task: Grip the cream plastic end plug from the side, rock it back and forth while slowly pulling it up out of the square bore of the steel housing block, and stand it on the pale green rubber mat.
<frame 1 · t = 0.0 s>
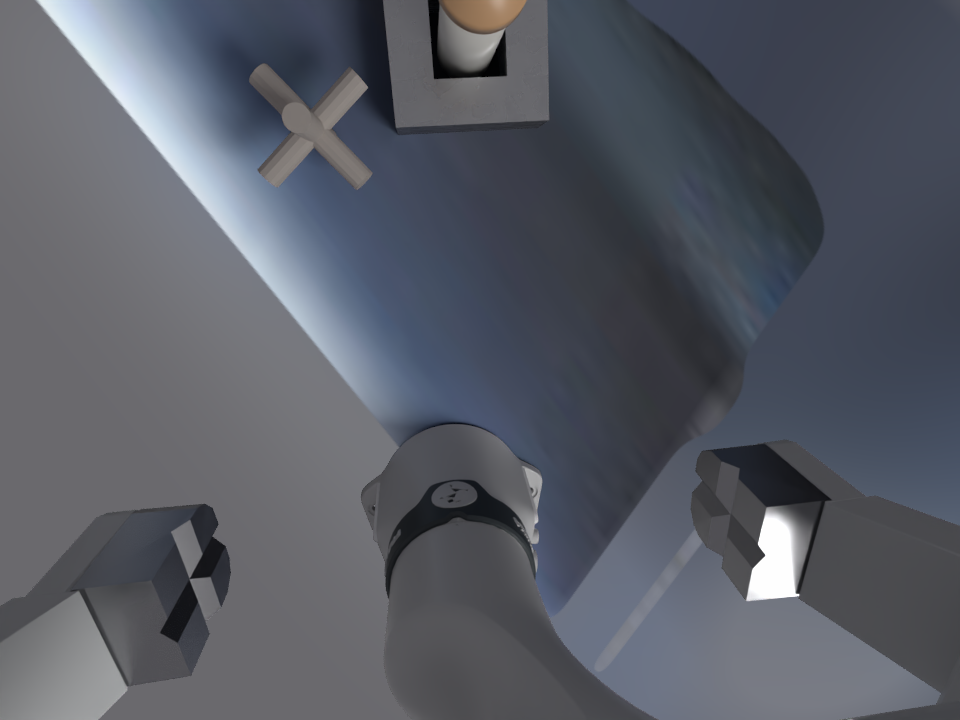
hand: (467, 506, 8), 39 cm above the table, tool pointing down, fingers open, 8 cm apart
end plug: (472, 18, 33), in the housing block
pipe connector: (326, 138, 42), on the table
housing block: (464, 51, 41), on the table
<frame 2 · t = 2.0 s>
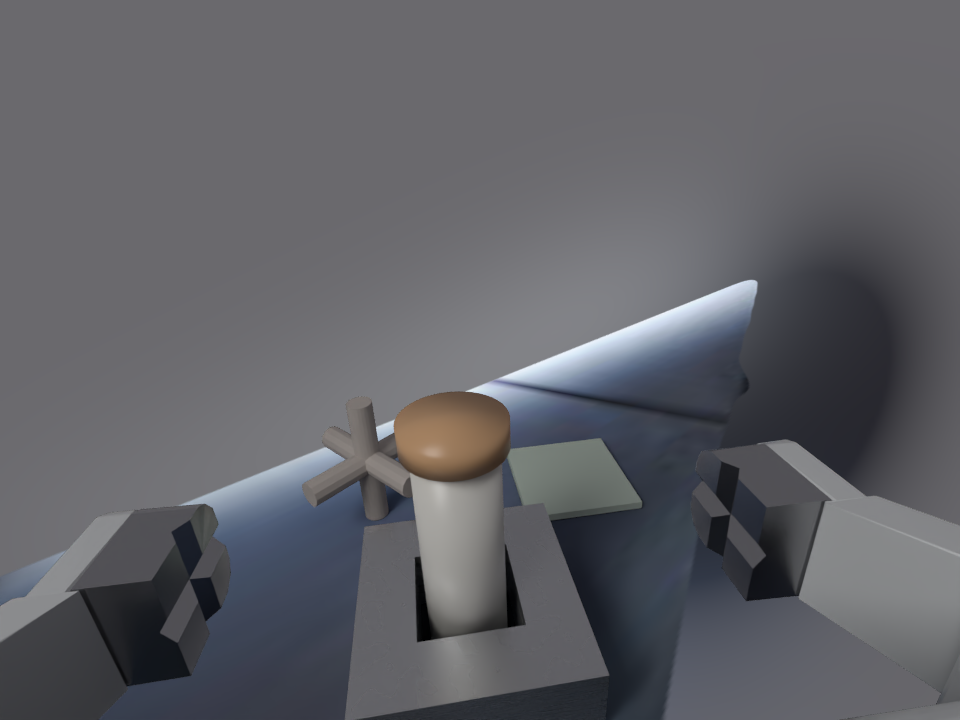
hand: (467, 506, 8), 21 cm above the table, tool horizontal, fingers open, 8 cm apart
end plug: (461, 540, 26), in the housing block
pipe connector: (377, 514, 40), on the table
rubber mat: (568, 479, 42), on the table
housing block: (469, 636, 29), on the table
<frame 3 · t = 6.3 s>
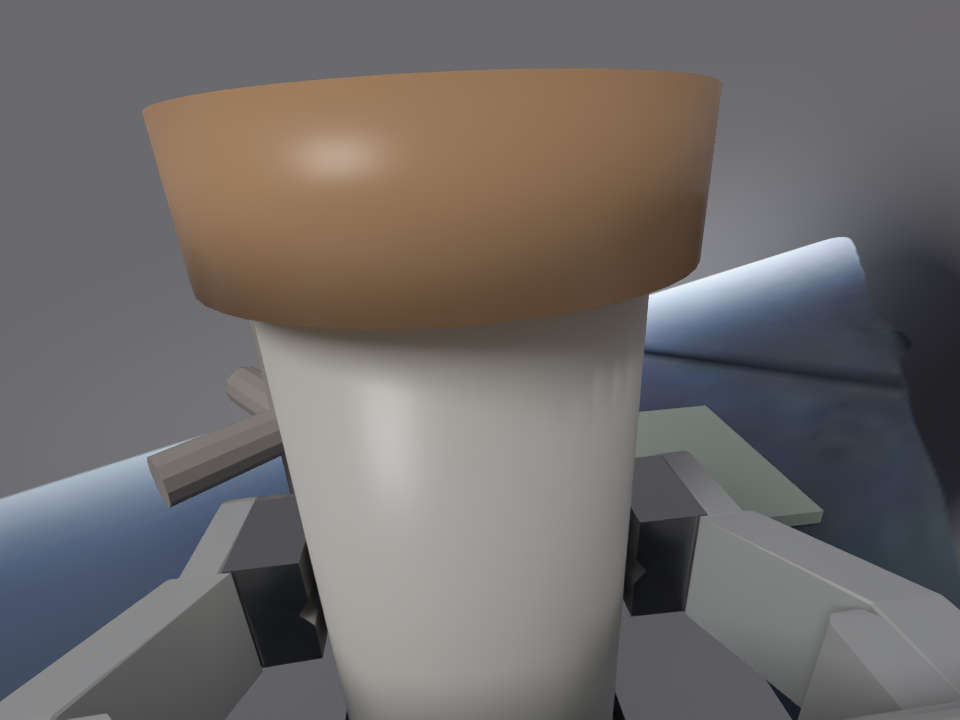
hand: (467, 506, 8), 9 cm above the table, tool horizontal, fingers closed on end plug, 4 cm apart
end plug: (477, 617, 8), in the housing block, touching gripper
pipe connector: (321, 525, 22), on the table
rubber mat: (663, 469, 24), on the table
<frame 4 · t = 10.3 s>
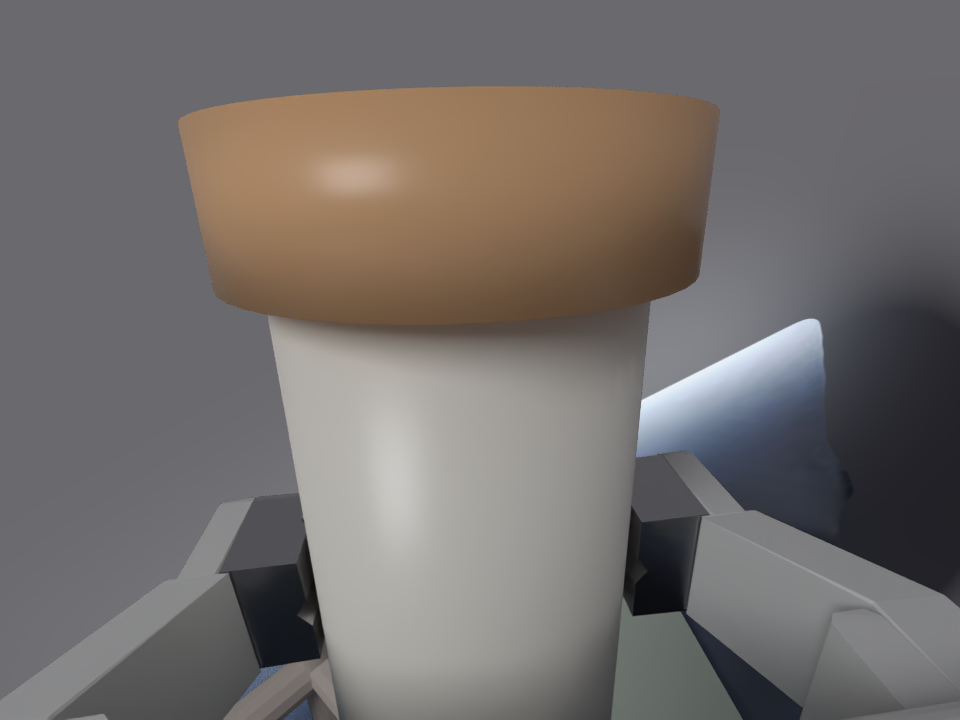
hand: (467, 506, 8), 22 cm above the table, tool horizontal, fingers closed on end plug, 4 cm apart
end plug: (474, 632, 8), point 20 cm above the table, touching gripper
rubber mat: (623, 663, 28), on the table
when the fingers open (11 cm above the table, at t = 14.4 s): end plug drops 1 cm, resting on rubber mat.
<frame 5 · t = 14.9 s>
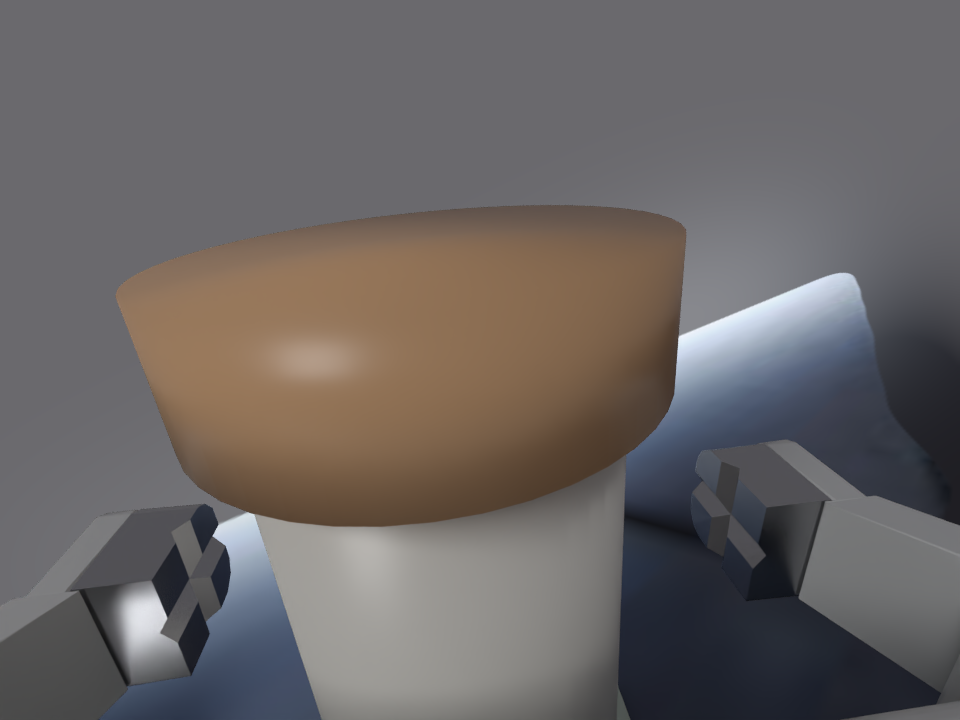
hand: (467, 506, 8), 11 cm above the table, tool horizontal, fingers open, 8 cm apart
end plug: (475, 696, 8), on the rubber mat, point 8 cm above the table
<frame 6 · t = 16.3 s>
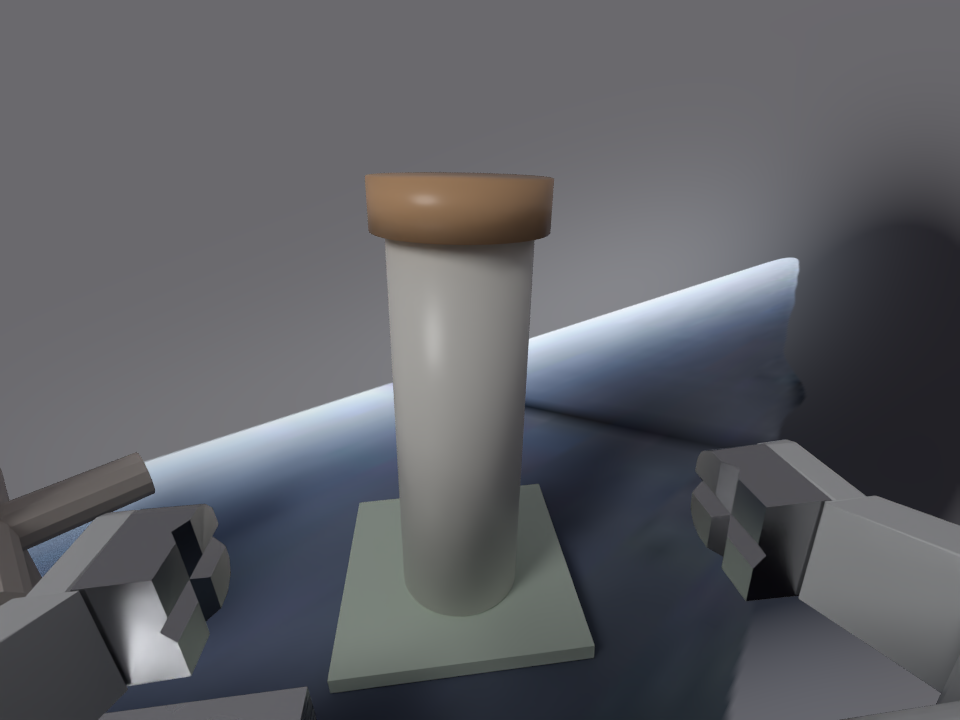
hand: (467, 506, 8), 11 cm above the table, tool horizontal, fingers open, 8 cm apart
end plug: (460, 405, 17), on the rubber mat, point 8 cm above the table
pipe connector: (40, 646, 19), on the table
rubber mat: (456, 572, 21), on the table
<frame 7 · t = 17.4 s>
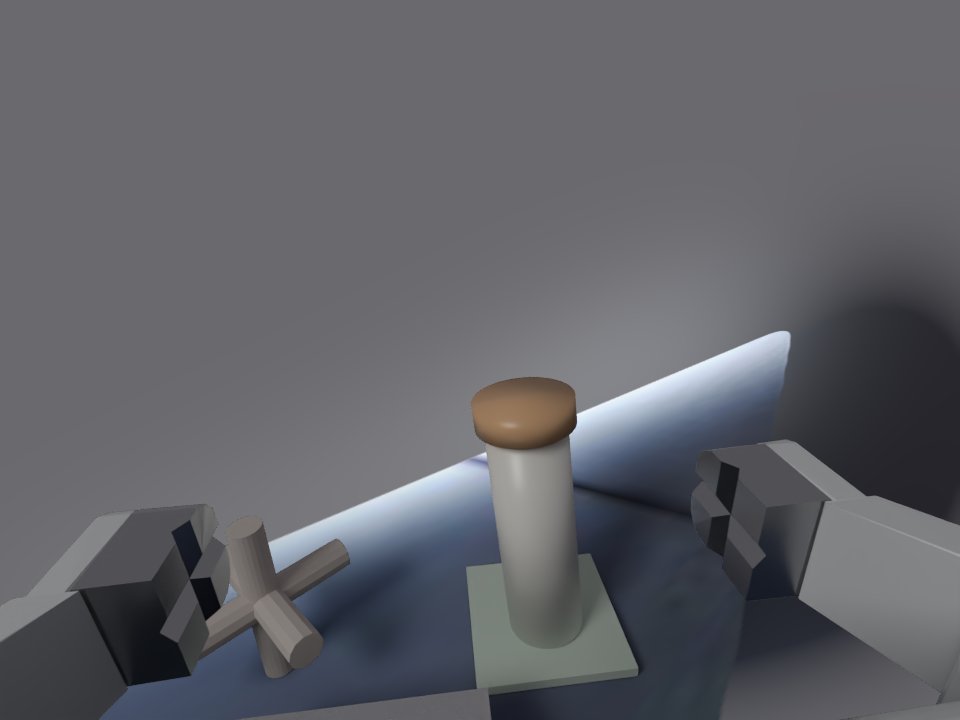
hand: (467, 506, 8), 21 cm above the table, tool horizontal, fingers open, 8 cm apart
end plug: (535, 516, 28), on the rubber mat, point 8 cm above the table
pipe connector: (281, 666, 30), on the table
rubber mat: (541, 618, 32), on the table
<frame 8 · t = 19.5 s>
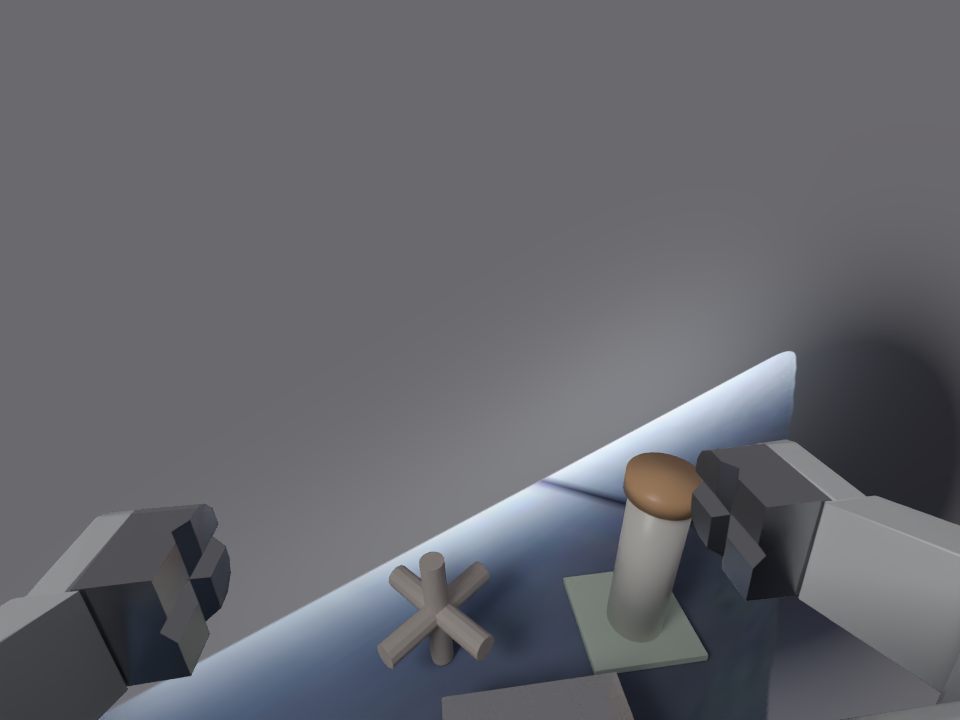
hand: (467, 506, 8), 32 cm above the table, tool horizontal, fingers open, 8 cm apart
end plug: (648, 552, 38), on the rubber mat
pipe connector: (442, 656, 40), on the table
rubber mat: (629, 618, 42), on the table
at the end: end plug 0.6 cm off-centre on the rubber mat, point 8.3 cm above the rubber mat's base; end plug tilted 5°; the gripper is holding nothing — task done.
